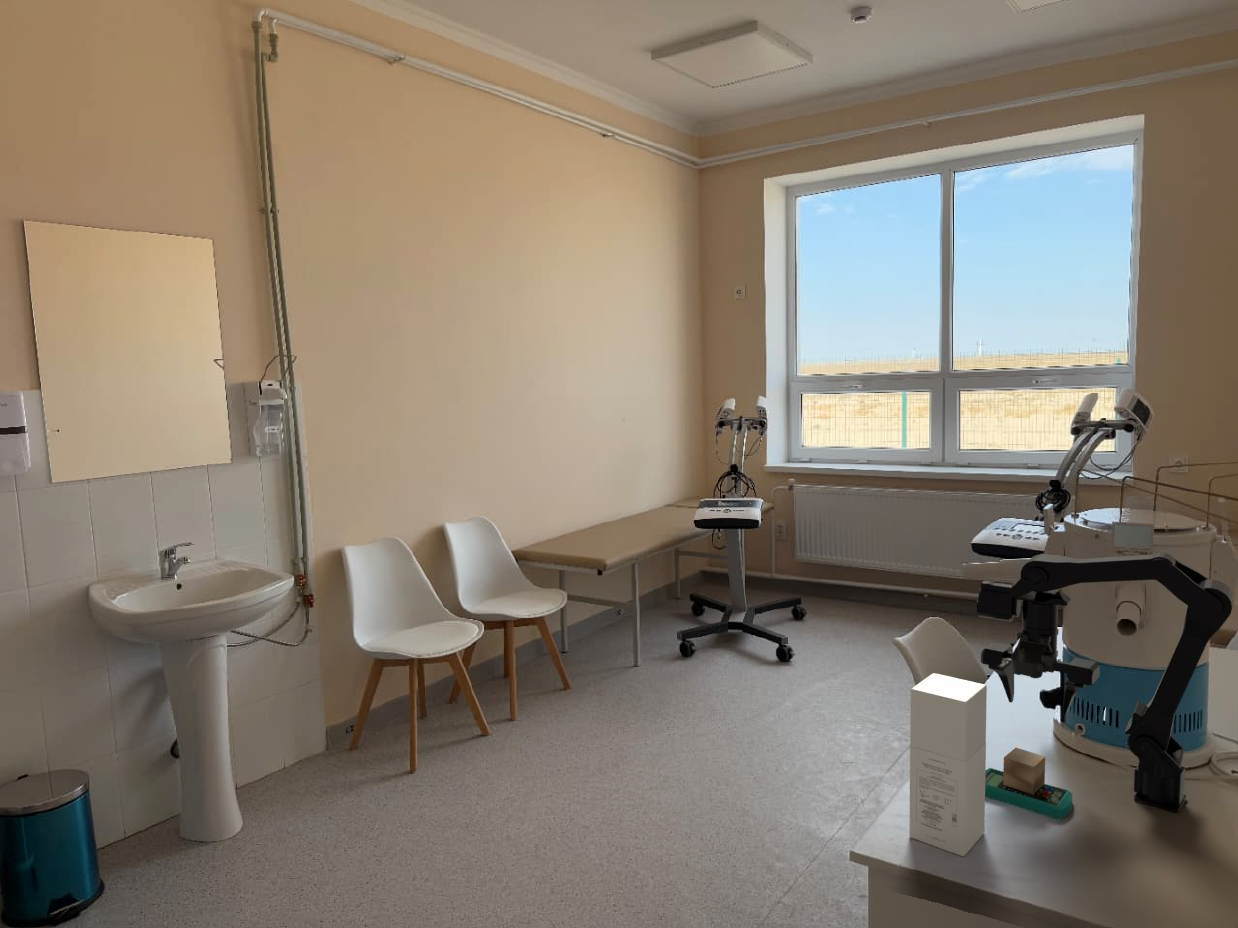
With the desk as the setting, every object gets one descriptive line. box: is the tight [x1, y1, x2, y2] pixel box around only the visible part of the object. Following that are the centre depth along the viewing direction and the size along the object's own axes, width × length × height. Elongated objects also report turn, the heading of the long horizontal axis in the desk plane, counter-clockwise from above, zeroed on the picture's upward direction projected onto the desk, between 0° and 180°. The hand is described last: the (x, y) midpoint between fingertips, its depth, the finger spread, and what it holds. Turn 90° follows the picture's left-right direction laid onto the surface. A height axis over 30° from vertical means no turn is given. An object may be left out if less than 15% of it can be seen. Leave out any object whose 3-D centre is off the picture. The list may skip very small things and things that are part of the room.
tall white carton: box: [909, 672, 988, 857], centre depth 137 cm, size 9×9×25 cm
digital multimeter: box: [985, 767, 1073, 821], centre depth 149 cm, size 7×15×3 cm, turn 48°
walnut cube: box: [1002, 747, 1046, 795], centre depth 149 cm, size 5×5×5 cm
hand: (1037, 707), depth 157 cm, fingers open, 9 cm apart
